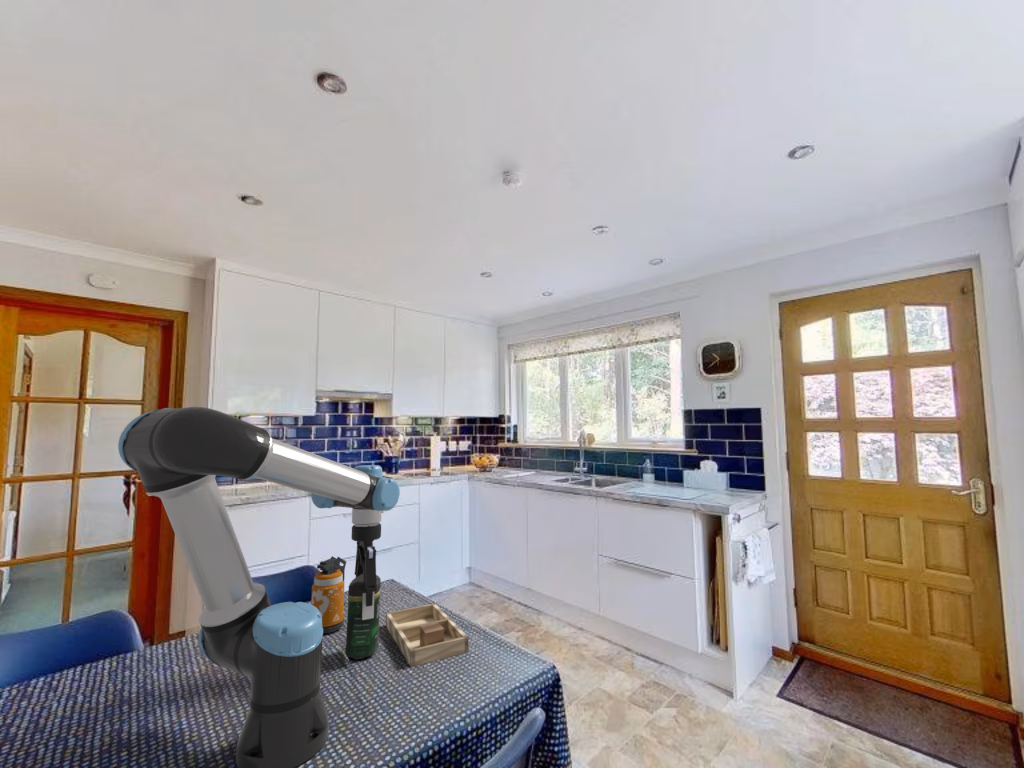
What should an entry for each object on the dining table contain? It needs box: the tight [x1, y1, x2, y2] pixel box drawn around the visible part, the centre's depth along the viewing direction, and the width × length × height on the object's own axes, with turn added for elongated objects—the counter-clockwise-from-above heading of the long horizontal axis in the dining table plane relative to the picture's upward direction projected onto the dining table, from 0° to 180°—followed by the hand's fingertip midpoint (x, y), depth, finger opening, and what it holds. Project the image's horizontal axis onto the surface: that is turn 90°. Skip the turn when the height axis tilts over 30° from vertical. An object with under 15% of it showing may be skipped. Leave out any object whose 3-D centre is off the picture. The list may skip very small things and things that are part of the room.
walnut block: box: [420, 622, 444, 647], centre depth 116 cm, size 5×5×5 cm
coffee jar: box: [345, 574, 382, 660], centre depth 115 cm, size 10×8×19 cm
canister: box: [310, 556, 347, 635], centre depth 132 cm, size 9×11×20 cm
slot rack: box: [385, 603, 469, 668], centre depth 122 cm, size 27×15×4 cm, turn 28°
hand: (364, 611), depth 115 cm, fingers closed on coffee jar, 10 cm apart
